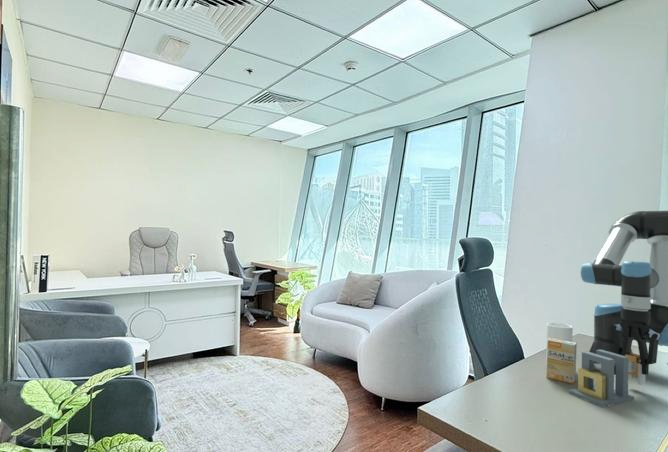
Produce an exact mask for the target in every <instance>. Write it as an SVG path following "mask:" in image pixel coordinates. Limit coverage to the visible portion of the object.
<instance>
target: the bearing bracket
mask: <svg viewBox="0 0 668 452" xmlns="http://www.w3.org/2000/svg"><path fill="white" fill-rule="evenodd" d="M594 361H596V363H595V362H594ZM614 361H616V375H614ZM600 363H601V374H603V375H606V400H599V399H597V398H594V397H592V396H589V395H587V394H584V393H581V392H579V391H578V387H577V388H573V389H569V390H568V394H570V395H572V396H575V397H577V398H580V399H582V400H584V401H588V402H590V403H593V404H594V403H595V404H594V405H596V406H599V405H600V406H599V407H601V406H602V407H601V408H604V406H606V407H609V406H608V405H610V406H613V405H612V404H614V405H618V404H622V403H627V402H632V401H635V396H634V395H631V394H629V380H628V365H629V357H626V356H623V355H619V354H616V353H612V352H608V351H605V350H596V354H594V353H591V352H589V351H581V368H585V369H588V370H591V371H593V365H594V364H600ZM594 382H595V379H592V378H589V377H588V387H590V388H592V389H595V390H596V384H594ZM617 403H618V404H617Z"/></svg>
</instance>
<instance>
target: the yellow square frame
mask: <svg viewBox="0 0 668 452" xmlns="http://www.w3.org/2000/svg"><path fill="white" fill-rule="evenodd" d="M588 377H589V378H592V379H594V381H595V385H596V390H595V389H592V388H590V387H588ZM577 388H578V391H579V392H581V393H584V394H587V395H589V396H592V397H594V398H597V399H599V400H606V375H603V374H600V373H597V372H594V371H591V370H588V369H585V368H582V367H578V368H577Z"/></svg>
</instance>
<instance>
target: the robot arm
mask: <svg viewBox="0 0 668 452" xmlns="http://www.w3.org/2000/svg"><path fill="white" fill-rule="evenodd" d="M636 240H646V241H647V243H648V244H649V245H651V247H650V253H649V254H650V256H649V262H648V261H633V260H629V261H628V260H625V261H623V262H622V260H623V258H624V256H625V254H626V252H627V250H628V248H629V247H630V245H631V243H634V242H635V241H636ZM621 262H622V263H621ZM620 264H621V265H620ZM580 278H581V281H583V282H584V283H588V284H594V285H601V286H603V285H604V286H615V287H621V288H620V289H621V293H620V303H599V304H597V305H595V307H594V314H593V323H594V324H593V342H592V344H591V346H590V349H589V351H588V352H591V353H594V354H596V350H605V351H608V352H612V353H616V354H619V355H623V356H625V354H631V353H634V352H633V350H632V345H633V341H636V342H637V348H638V353H639V354H638V355H640V360H641V362H639V363H638V376H637V385H645V384H646V376H647V375H649V371H650V370H649V369H650V368H649V367H650V365H653V364H657V361H658V359H657V358H658V349H659V346H660V347H668V210H638V211H633V212H630V213H627V214H625V215H624V216H622V217H620V218H618V219H617V220H616V221H615V222H613V223H612V225H611V226H610V228H609V230H608V236H607V239H606V240H605V242H604V244H603V246H602V247H601V249H600V250H599V252H598V254H597V256H596V258H595V259H594V261H593V262H589V263H588V262H585V263H582V265H581V267H580ZM647 344H648V345H647ZM594 364H596V361H594ZM632 376H633V375H631V374H628V381H629V380H632V379H633V378H632Z"/></svg>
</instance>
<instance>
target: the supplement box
mask: <svg viewBox="0 0 668 452" xmlns="http://www.w3.org/2000/svg"><path fill="white" fill-rule="evenodd" d="M546 345H547V367H546V373H545V374H546V377H545V378H547V379H551V380H555V381H560V382H565V383H568V384H572V385H574V383H575V382H576V377H577V376H576V374H577V373H576V372H577V371H576V370H577V345H578V344H577V342H574V341H572V342H569V341H564V340H558V339H553V338H549V339H548V343H547V342H546Z"/></svg>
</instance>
